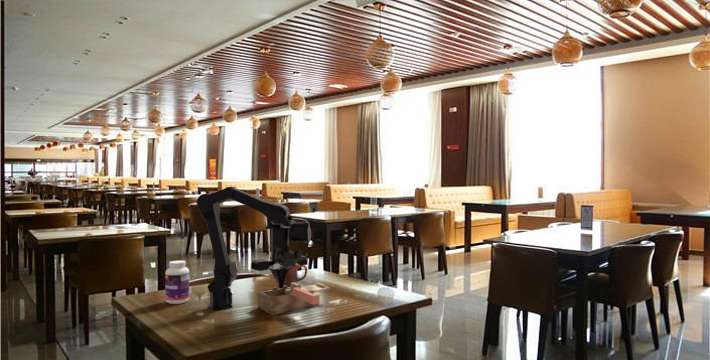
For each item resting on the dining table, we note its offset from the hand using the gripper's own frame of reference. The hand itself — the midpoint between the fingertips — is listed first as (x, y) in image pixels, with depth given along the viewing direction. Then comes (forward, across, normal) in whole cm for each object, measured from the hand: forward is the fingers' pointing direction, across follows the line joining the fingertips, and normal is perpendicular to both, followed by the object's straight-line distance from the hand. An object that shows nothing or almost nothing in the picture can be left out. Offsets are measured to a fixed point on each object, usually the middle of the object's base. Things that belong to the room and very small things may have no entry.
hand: (280, 287), depth 164 cm
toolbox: (+7, +2, -1) cm, 7 cm away
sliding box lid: (+2, +10, -1) cm, 11 cm away
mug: (+7, +16, +21) cm, 28 cm away
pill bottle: (+7, -26, +29) cm, 40 cm away
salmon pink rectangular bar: (+1, +2, -14) cm, 14 cm away
